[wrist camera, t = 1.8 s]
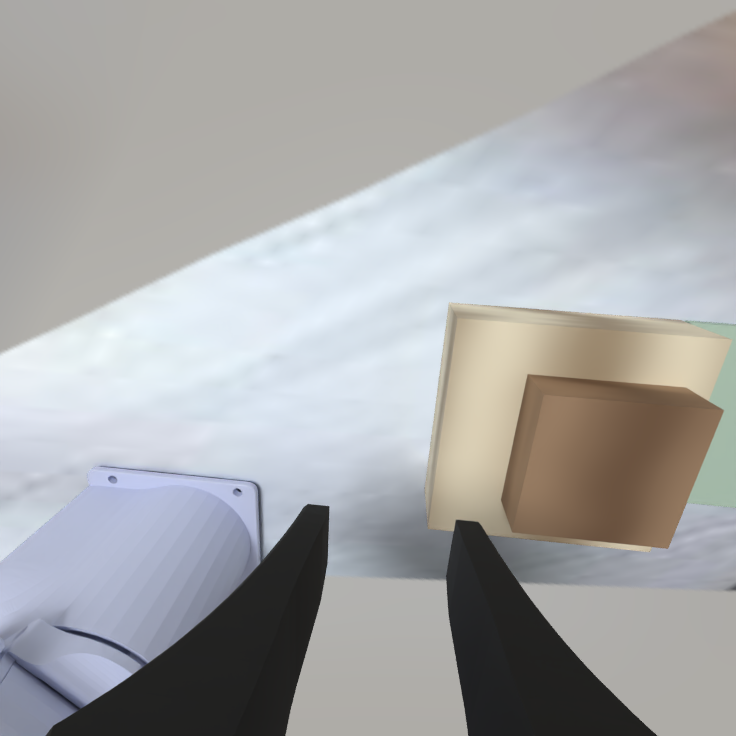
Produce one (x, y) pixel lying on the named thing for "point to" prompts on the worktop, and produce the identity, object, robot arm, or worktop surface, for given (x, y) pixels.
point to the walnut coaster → (605, 459)
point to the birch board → (507, 382)
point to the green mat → (720, 432)
